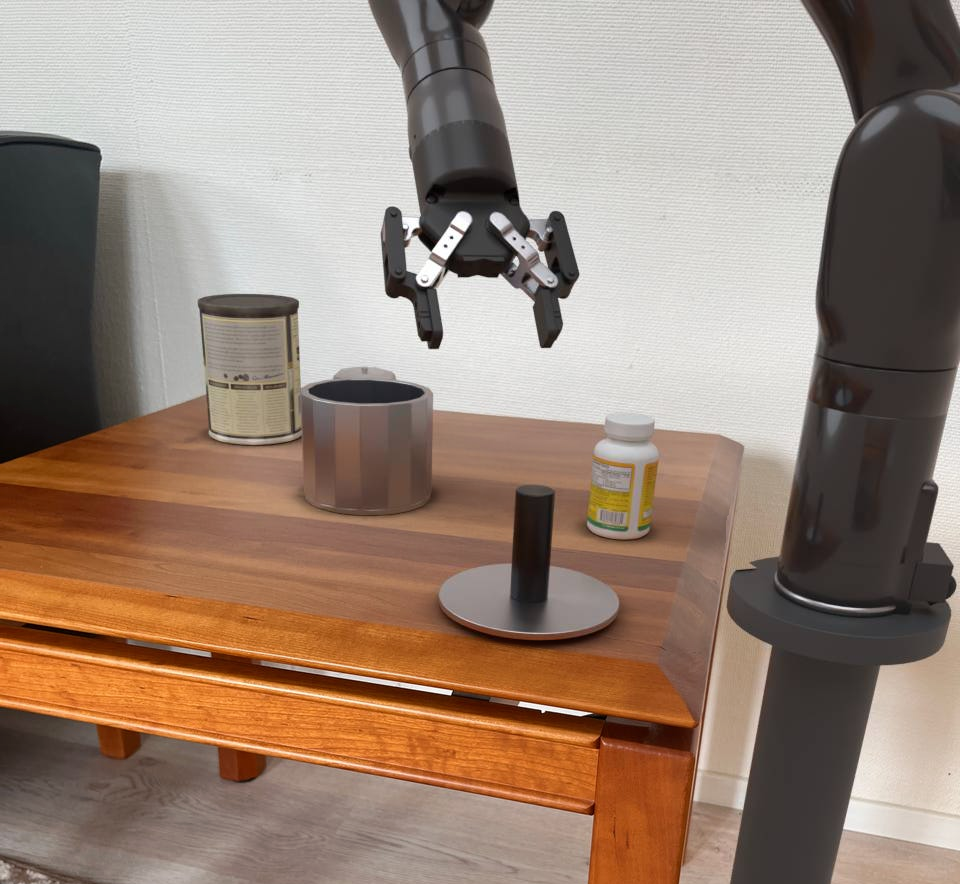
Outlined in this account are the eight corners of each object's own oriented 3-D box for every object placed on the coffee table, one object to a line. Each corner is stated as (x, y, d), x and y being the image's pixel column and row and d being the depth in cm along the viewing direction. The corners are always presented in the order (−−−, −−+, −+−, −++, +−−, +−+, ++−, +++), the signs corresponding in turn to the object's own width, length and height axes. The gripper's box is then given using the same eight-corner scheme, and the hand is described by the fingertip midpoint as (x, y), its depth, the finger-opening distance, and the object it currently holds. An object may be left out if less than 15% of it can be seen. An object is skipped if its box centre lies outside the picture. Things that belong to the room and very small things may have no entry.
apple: (406, 432, 115) (407, 373, 112) (337, 434, 113) (336, 374, 110) (390, 416, 122) (390, 359, 119) (324, 418, 120) (323, 361, 117)
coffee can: (195, 427, 113) (184, 294, 107) (283, 419, 118) (277, 292, 112) (225, 449, 105) (215, 307, 99) (318, 440, 110) (314, 304, 104)
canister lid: (623, 586, 75) (635, 473, 72) (611, 658, 64) (624, 528, 60) (458, 569, 77) (462, 458, 73) (419, 636, 66) (421, 509, 62)
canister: (442, 484, 97) (444, 383, 93) (413, 520, 87) (414, 409, 83) (327, 473, 99) (325, 374, 95) (285, 508, 89) (281, 398, 85)
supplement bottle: (601, 542, 84) (612, 426, 80) (577, 522, 88) (586, 411, 84) (660, 538, 85) (674, 424, 81) (633, 518, 90) (645, 409, 86)
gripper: (374, 111, 72) (405, 313, 68) (563, 121, 76) (603, 313, 72) (361, 185, 79) (389, 372, 75) (535, 190, 83) (570, 368, 79)
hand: (494, 343), depth 73 cm, fingers open, 8 cm apart
